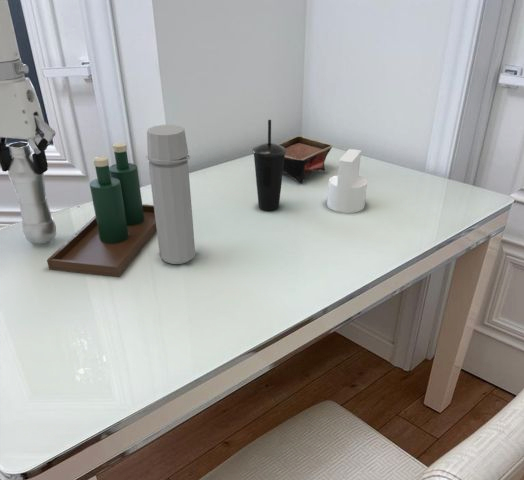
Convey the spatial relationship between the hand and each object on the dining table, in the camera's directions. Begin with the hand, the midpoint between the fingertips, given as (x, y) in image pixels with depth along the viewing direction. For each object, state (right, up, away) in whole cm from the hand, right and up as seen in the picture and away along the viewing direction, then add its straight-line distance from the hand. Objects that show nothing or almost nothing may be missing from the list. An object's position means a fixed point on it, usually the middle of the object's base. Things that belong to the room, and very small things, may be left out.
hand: (25, 170), depth 108 cm
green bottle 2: (+17, -6, +17) cm, 24 cm away
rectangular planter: (+56, +13, +43) cm, 72 cm away
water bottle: (+30, -16, +5) cm, 34 cm away
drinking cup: (+48, -1, +24) cm, 54 cm away
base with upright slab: (+67, 0, +25) cm, 71 cm away
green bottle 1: (+15, -11, +10) cm, 21 cm away
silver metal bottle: (0, -12, +9) cm, 15 cm away
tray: (+15, -12, +10) cm, 22 cm away
